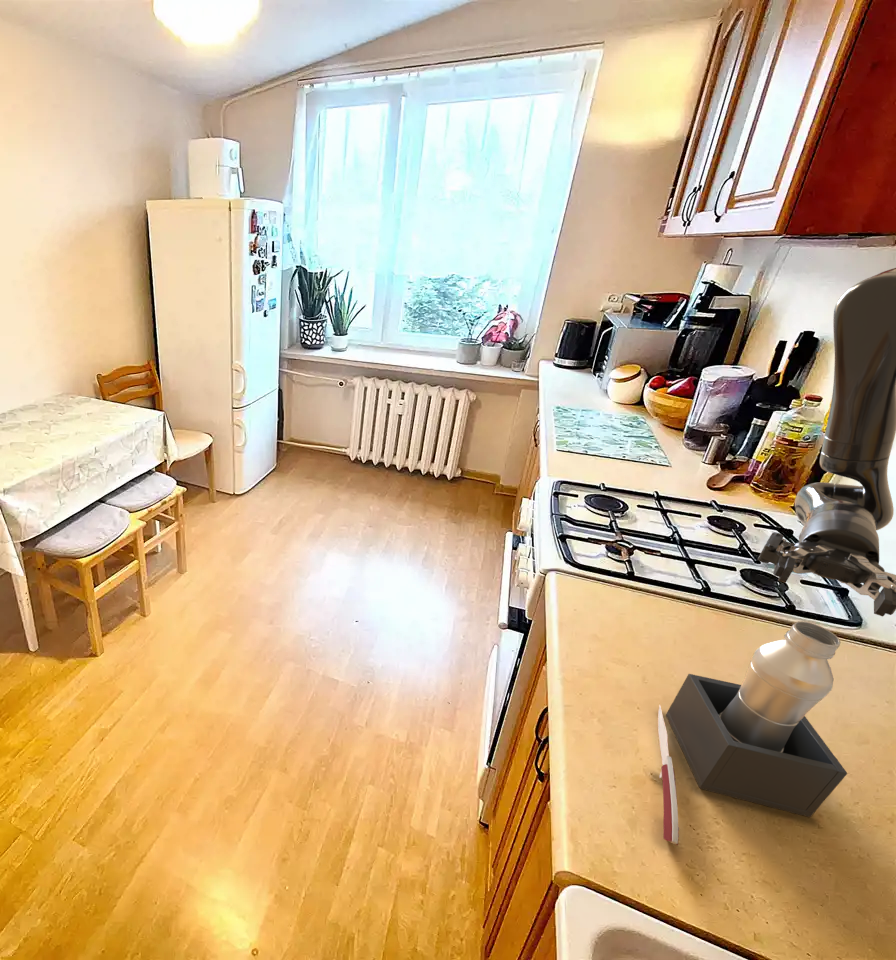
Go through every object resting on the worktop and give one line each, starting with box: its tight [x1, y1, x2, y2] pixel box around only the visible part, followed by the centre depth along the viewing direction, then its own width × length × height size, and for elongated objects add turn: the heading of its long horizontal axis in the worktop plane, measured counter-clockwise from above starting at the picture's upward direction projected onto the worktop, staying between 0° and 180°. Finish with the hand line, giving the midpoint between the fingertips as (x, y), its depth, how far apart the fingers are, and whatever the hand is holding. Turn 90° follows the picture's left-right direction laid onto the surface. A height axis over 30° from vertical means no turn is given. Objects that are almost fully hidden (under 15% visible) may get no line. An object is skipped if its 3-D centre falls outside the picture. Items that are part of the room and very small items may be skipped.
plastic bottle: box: [719, 620, 841, 753], centre depth 59 cm, size 6×7×20 cm
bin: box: [665, 673, 848, 818], centre depth 62 cm, size 11×11×8 cm
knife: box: [657, 703, 680, 847], centre depth 62 cm, size 20×1×3 cm, turn 149°
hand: (832, 591), depth 63 cm, fingers open, 8 cm apart
